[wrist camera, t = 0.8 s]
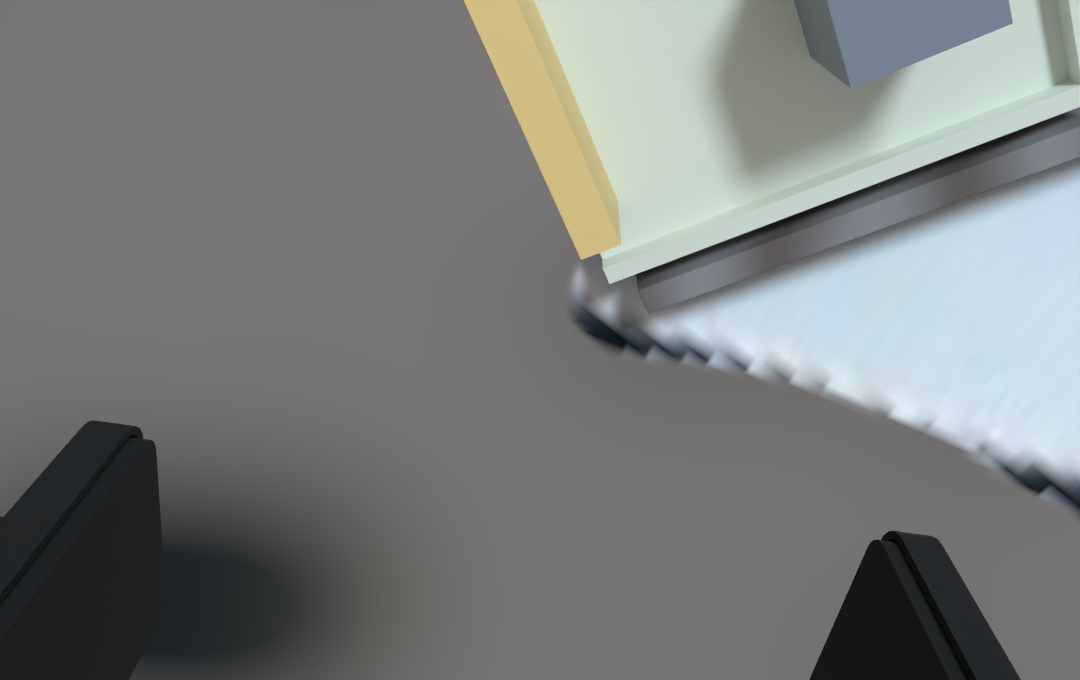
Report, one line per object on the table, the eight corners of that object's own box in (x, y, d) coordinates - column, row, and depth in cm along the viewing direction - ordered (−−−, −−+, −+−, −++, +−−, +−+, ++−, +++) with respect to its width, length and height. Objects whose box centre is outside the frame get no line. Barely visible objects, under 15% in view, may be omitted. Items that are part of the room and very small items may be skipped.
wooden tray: (1008, -389, 27) (1104, -452, 22) (1083, 86, 34) (1171, 122, 29) (447, -100, 32) (419, -97, 27) (609, 267, 38) (610, 326, 33)
